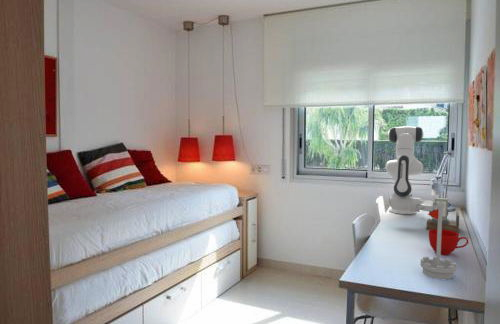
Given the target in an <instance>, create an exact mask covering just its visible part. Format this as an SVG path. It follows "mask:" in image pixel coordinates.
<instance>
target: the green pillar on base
mask: <svg viewBox="0 0 500 324" xmlns="http://www.w3.org/2000/svg"><path fill="white" fill-rule="evenodd" d="M438 202H443V203H444V205H445V206H444V208H443V209H442V224H449V221H450V220H449V218H448V216H447V210H448V211H449V209H448V203H449V199H448V198H445V197H434V203H435V206H437V203H438ZM431 219H432V223H438V219H436V218H434V217H433V218H432V217H431Z"/></svg>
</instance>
